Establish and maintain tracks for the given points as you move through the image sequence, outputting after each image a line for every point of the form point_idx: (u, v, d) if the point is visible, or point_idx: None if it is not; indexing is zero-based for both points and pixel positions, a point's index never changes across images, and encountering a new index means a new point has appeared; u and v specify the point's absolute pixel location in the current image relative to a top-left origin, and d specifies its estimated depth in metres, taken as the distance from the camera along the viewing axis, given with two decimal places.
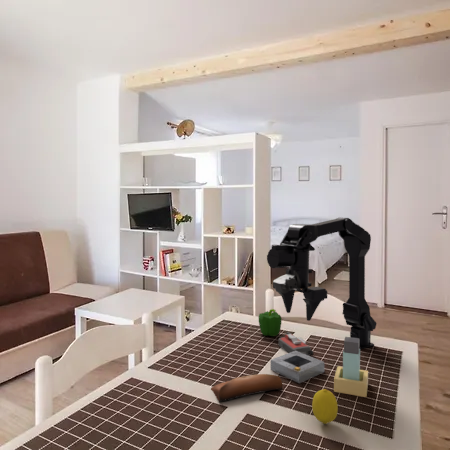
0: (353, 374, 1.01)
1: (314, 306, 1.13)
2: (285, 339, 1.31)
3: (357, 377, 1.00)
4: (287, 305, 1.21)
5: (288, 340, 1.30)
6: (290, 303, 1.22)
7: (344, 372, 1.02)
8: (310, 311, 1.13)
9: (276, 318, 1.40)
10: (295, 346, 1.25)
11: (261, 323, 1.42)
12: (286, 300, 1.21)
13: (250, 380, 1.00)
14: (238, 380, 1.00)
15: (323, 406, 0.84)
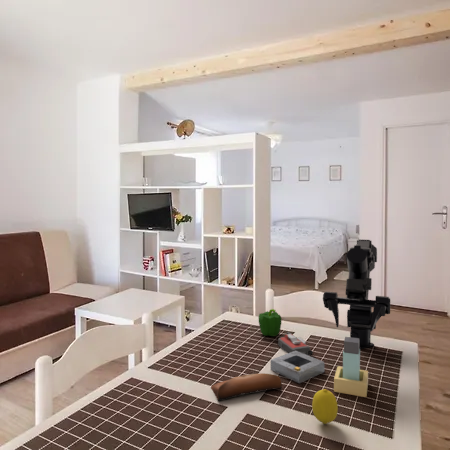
0: (353, 374, 1.01)
1: (376, 318, 1.10)
2: (285, 339, 1.31)
3: (357, 377, 1.00)
4: (338, 318, 1.12)
5: (288, 340, 1.30)
6: (338, 318, 1.14)
7: (344, 372, 1.02)
8: (375, 320, 1.09)
9: (276, 318, 1.40)
10: (294, 346, 1.25)
11: (261, 323, 1.42)
12: (337, 313, 1.13)
13: (250, 379, 1.01)
14: (237, 379, 1.01)
15: (323, 406, 0.84)
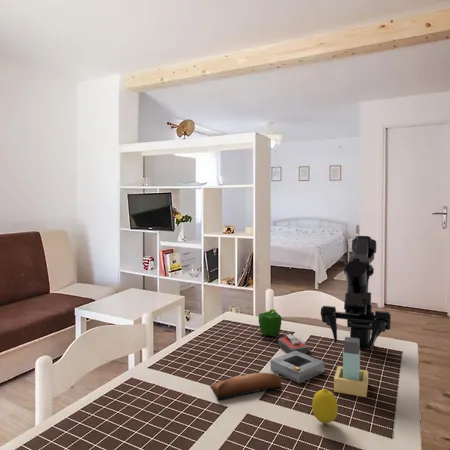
0: (353, 374, 1.01)
1: (376, 334, 1.06)
2: (284, 339, 1.31)
3: (357, 377, 1.00)
4: (336, 334, 1.08)
5: (287, 340, 1.30)
6: (336, 334, 1.10)
7: (344, 372, 1.02)
8: (375, 337, 1.05)
9: (276, 318, 1.40)
10: (294, 346, 1.25)
11: (261, 323, 1.42)
12: (336, 328, 1.09)
13: (249, 379, 1.01)
14: (237, 378, 1.01)
15: (323, 406, 0.84)
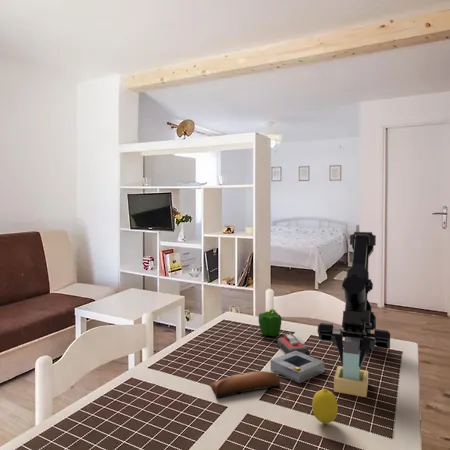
0: (353, 374, 1.01)
1: (366, 353, 1.03)
2: (284, 339, 1.31)
3: (357, 377, 1.00)
4: None
5: (286, 340, 1.30)
6: None
7: (344, 372, 1.02)
8: (364, 355, 1.02)
9: (276, 318, 1.40)
10: (292, 346, 1.25)
11: (261, 323, 1.42)
12: (343, 348, 1.04)
13: (248, 377, 1.02)
14: (236, 377, 1.02)
15: (323, 406, 0.84)
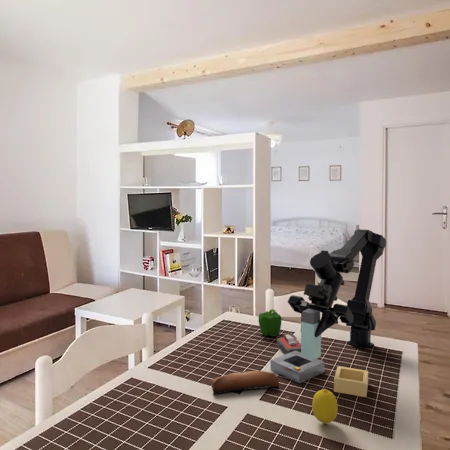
0: (309, 343, 1.07)
1: (326, 325, 1.08)
2: (283, 339, 1.31)
3: (312, 346, 1.06)
4: None
5: (285, 340, 1.30)
6: None
7: (302, 340, 1.08)
8: (322, 327, 1.07)
9: (276, 318, 1.40)
10: (289, 347, 1.24)
11: (261, 323, 1.42)
12: None
13: (246, 376, 1.03)
14: (234, 375, 1.03)
15: (323, 406, 0.84)
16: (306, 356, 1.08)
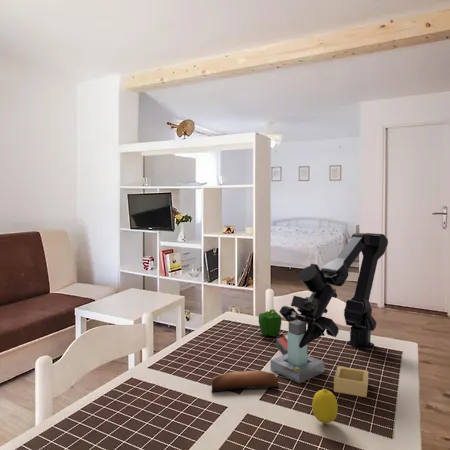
0: (294, 353, 1.11)
1: (312, 337, 1.11)
2: (282, 339, 1.31)
3: (297, 356, 1.10)
4: None
5: (284, 341, 1.30)
6: None
7: (288, 350, 1.13)
8: (307, 338, 1.10)
9: (276, 318, 1.40)
10: None
11: (261, 323, 1.41)
12: None
13: (245, 375, 1.03)
14: (234, 373, 1.04)
15: (323, 406, 0.84)
16: None
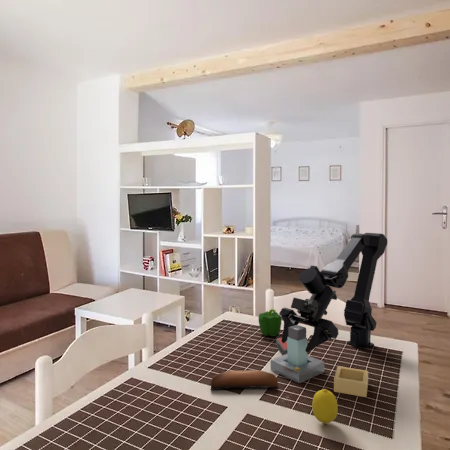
0: (294, 358, 1.11)
1: (318, 341, 1.09)
2: None
3: (296, 361, 1.10)
4: (285, 334, 1.16)
5: None
6: None
7: (288, 355, 1.13)
8: (313, 342, 1.08)
9: (276, 318, 1.40)
10: None
11: (261, 323, 1.42)
12: (287, 329, 1.17)
13: (245, 374, 1.04)
14: (233, 372, 1.05)
15: (323, 406, 0.84)
16: None
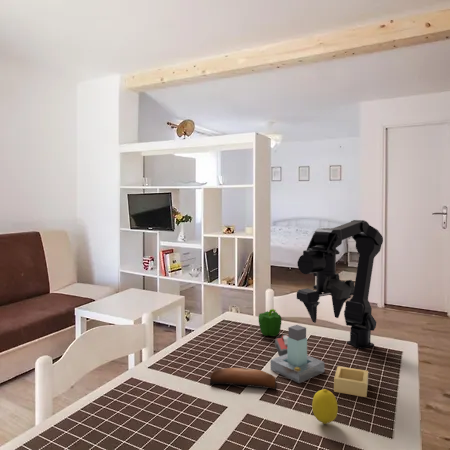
0: (294, 358, 1.11)
1: None
2: (280, 340, 1.31)
3: (296, 361, 1.10)
4: None
5: (282, 341, 1.29)
6: None
7: (288, 355, 1.13)
8: None
9: (276, 318, 1.40)
10: (284, 347, 1.24)
11: (261, 323, 1.42)
12: None
13: (244, 372, 1.05)
14: (234, 369, 1.06)
15: (323, 406, 0.84)
16: None
